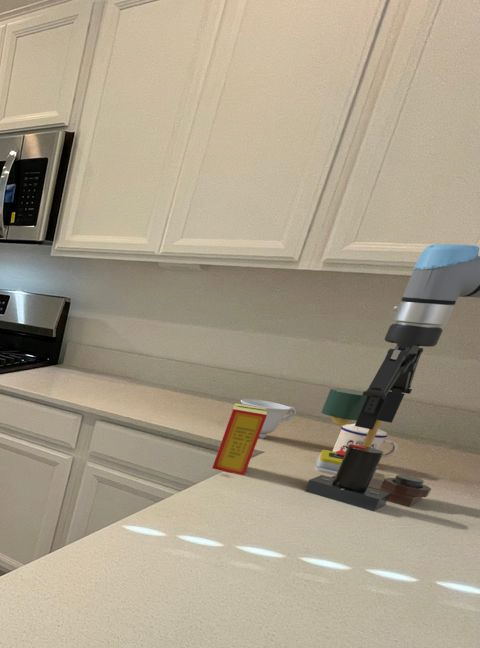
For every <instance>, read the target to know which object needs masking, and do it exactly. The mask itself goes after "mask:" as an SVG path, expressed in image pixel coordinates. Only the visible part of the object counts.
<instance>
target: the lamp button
mask: <svg viewBox="0 0 480 648" xmlns="http://www.w3.org/2000/svg"><path fill="white" fill-rule="evenodd" d="M394 478H395V480H394V482H395V483H398V484H401V485H405V486H409V487H415V488H421V487H422V485H424V483H425V481H424V479H422V478H418V477H415V476H411V475H407V474H396V476H395V477H394Z"/></svg>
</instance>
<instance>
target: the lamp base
mask: <svg viewBox="0 0 480 648" xmlns="http://www.w3.org/2000/svg"><path fill="white" fill-rule="evenodd" d="M335 476H336V475H332V476H331V477H332V478H335ZM394 480H395V477H385V478H383V479H379V478H376V477H372V479H371V481H370V483H369V485H368V487H369V488H373V489H377V490H380V491H384V492H388V493H391V494H390V496H389V498H388V500H387V502H389V503H392V504H395V505H396V504H397V505H400V506H403V507H406V508H410V507H412V506H414V505H415V504H417V503H418V502H420V501H421V500H422V499H423V498H427V497H428V496H429V495H430V492H431V491H432V488H431V487H430V486H428V485H425V484H423V485H422V487H421V488H415V487H409V486H405V485H401V484H398V483H395V482H394Z"/></svg>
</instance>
